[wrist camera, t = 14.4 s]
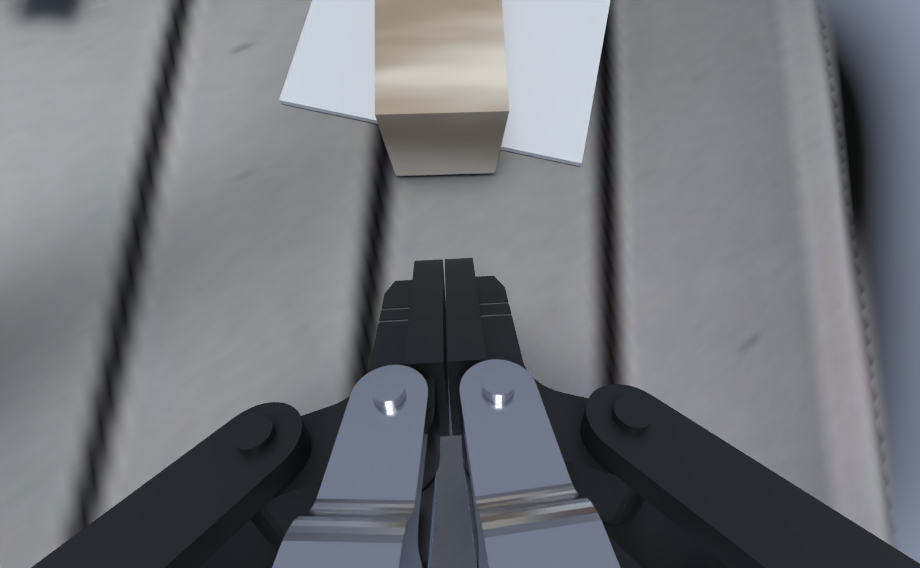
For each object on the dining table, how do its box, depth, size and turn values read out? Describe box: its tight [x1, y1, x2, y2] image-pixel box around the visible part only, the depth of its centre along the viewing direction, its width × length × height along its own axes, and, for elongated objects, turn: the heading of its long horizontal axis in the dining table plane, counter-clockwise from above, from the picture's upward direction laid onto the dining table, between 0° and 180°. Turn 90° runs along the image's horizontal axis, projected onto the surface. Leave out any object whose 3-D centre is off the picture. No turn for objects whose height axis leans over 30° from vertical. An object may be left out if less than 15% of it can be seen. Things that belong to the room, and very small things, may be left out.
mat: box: [279, 0, 610, 166], centre depth 20 cm, size 14×16×1 cm
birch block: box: [375, 0, 509, 176], centre depth 17 cm, size 5×5×12 cm
